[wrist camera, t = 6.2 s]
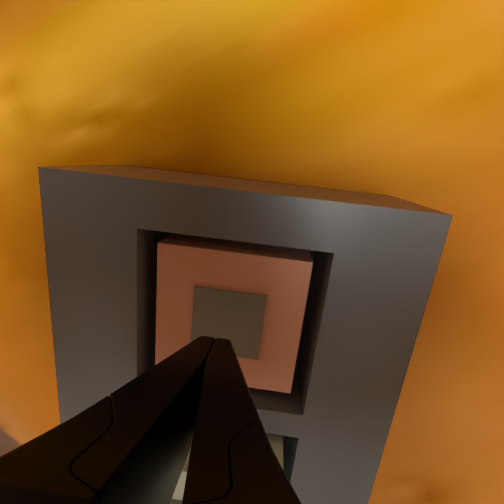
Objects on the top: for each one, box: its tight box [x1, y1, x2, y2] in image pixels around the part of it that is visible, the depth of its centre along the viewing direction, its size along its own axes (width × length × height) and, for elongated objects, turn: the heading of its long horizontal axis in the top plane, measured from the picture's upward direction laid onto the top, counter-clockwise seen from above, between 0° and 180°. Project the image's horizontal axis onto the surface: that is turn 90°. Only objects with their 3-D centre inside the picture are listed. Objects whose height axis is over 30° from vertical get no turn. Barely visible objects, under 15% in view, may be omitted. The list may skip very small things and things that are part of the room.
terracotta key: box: [155, 233, 313, 393], centre depth 12 cm, size 5×5×3 cm
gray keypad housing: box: [38, 165, 452, 504], centre depth 15 cm, size 23×12×5 cm, turn 174°
